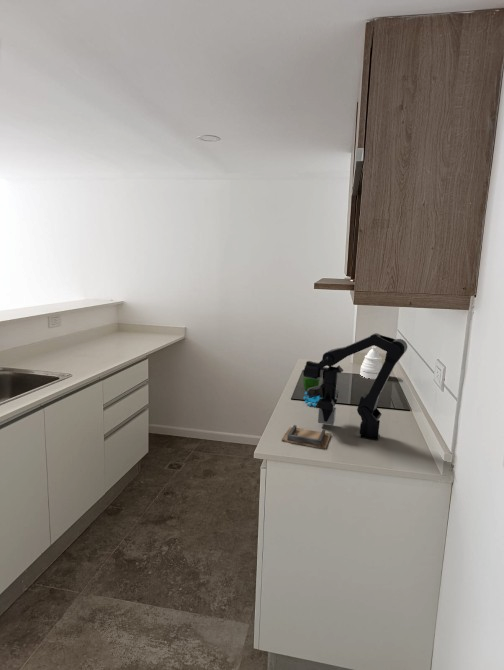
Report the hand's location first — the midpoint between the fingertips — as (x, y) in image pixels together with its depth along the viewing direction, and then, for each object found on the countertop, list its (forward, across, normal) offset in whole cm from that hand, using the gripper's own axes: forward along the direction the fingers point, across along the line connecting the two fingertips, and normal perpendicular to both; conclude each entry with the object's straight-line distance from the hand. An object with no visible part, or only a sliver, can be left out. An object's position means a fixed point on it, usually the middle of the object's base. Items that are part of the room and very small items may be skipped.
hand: (326, 419), depth 169 cm
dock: (+3, +15, -5) cm, 16 cm away
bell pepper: (+3, -46, -15) cm, 48 cm away
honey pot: (+3, -89, +13) cm, 90 cm away
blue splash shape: (+3, -23, -9) cm, 25 cm away
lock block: (+1, 0, 0) cm, 1 cm away
